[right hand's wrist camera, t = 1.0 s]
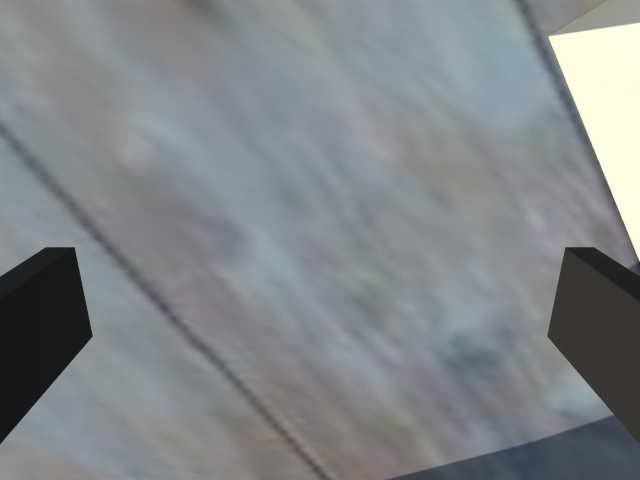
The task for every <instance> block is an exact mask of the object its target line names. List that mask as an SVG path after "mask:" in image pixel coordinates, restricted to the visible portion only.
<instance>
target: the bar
mask: <svg viewBox="0 0 640 480" xmlns="http://www.w3.org/2000/svg"><path fill="white" fill-rule="evenodd" d="M549 39H550V42H551V44H552V47H553V49H554V52H555V54H556V57H557V59H558V62H559V64H560V66H561V69H562V71H563V74H564V76H565V79H566V81H567V84H568V86H569V89H570V91H571V93H572V96H573V98H574V101H575V103H576V106H577V108H578V111H579V113H580V116H581V118H582V120H583V123H584V125H585V128H586V130H587V133H588V135H589V138H590V140H591V143H592V145H593V147H594V150H595V152H596V155H597V157H598V160H599V162H600V165H601V167H602V170H603V172H604V175H605V177H606V179H607V182H608V184H609V187H610V189H611V192H612V194H613V197H614V199H615V202H616V204H617V206H618V209H619V211H620V214H621V216H622V219H623V221H624V224H625V226H626V229H627V231H628V233H629V236H630V238H631V241H632V243H633V246H634V248H635V251H636V253H637V256H638V258H639V261H640V0H607V1H605V2H604V3H602V4H600V5H599V6H597V7H596V8H594V9H592V10H591V11H589V12H587V13H586V14H584V15H583V16H581V17H579V18H578V19H576V20H574V21H573V22H571V23H570V24H568V25H566V26H565V27H563V28H561V29H560V30H558V31H556V32H555V33H553V34H552V35H550V36H549Z"/></svg>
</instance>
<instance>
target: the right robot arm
mask: <svg viewBox="0 0 640 480" xmlns="http://www.w3.org/2000/svg"><path fill="white" fill-rule="evenodd" d="M92 337H93V335H92V331H91V326H90V321H89V316H88V311H87V306H86V301H85V296H84V291H83V286H82V281H81V277H80V272H79V267H78V262H77V257H76V252H75V247H46V248H44V249H43V250H41V251H40V252H38V253H36V254H35V255H33V256H32V257H30V258H29V259H27V260H26V261H24V262H22V263H21V264H19V265H18V266H16V267H15V268H13V269H12V270H10V271H8V272H7V273H5V274H4V275H2V276H1V277H0V444H1V443H2V441H3V440H4V439H5V438H6V437H7V436H8V434H9V433H10V432H11V431H12V430H13V429H14V427H15V426H16V425H17V424H18V423H19V422H20V420H21V419H22V418H23V417H24V416H25V415H26V413H27V412H28V411H29V410H30V409H31V408H32V406H33V405H34V404H35V403H36V402H37V401H38V399H39V398H40V397H41V396H42V395H43V394H44V393H45V391H46V390H47V389H48V388H49V387H50V386H51V384H52V383H53V382H54V381H55V380H56V379H57V377H58V376H59V375H60V374H61V373H62V372H63V370H64V369H65V368H66V367H67V366H68V365H69V363H70V362H71V361H72V360H73V359H74V358H75V356H76V355H77V354H78V353H79V352H80V351H81V349H82V348H83V347H84V346H85V345H86V344H87V342H88V341H89V340H90V339H91V338H92ZM547 337H548V338H549V339H550V340H551V341H552V342H553V344H554V345H555V346H556V347H557V348H558V349H559V351H560V352H561V353H562V354H563V355H564V356H565V358H566V359H567V360H568V361H569V362H570V363H571V365H572V366H573V367H574V368H575V369H576V370H577V372H578V373H579V374H580V375H581V376H582V377H583V379H584V380H585V381H586V382H587V383H588V384H589V386H590V387H591V388H592V389H593V390H594V391H595V393H596V394H597V395H598V396H599V397H600V398H601V399H602V401H603V402H604V403H605V404H606V405H607V406H608V408H609V409H610V410H611V411H612V412H613V413H614V415H615V416H616V417H617V418H618V419H619V420H620V422H621V423H622V424H623V425H624V426H625V427H626V429H627V430H628V431H629V432H630V433H631V434H632V436H633V437H634V438H635V439H636V440H637V441H638V443H639V444H640V277H639V276H638V275H636V274H635V273H633V272H632V271H630V270H628V269H627V268H625V267H624V266H622V265H621V264H619V263H618V262H616V261H614V260H613V259H611V258H610V257H608V256H607V255H605V254H604V253H602V252H600V251H599V250H597V249H596V248H594V247H565V252H564V257H563V262H562V267H561V272H560V277H559V281H558V286H557V291H556V296H555V301H554V306H553V311H552V316H551V321H550V326H549V331H548V335H547Z"/></svg>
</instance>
